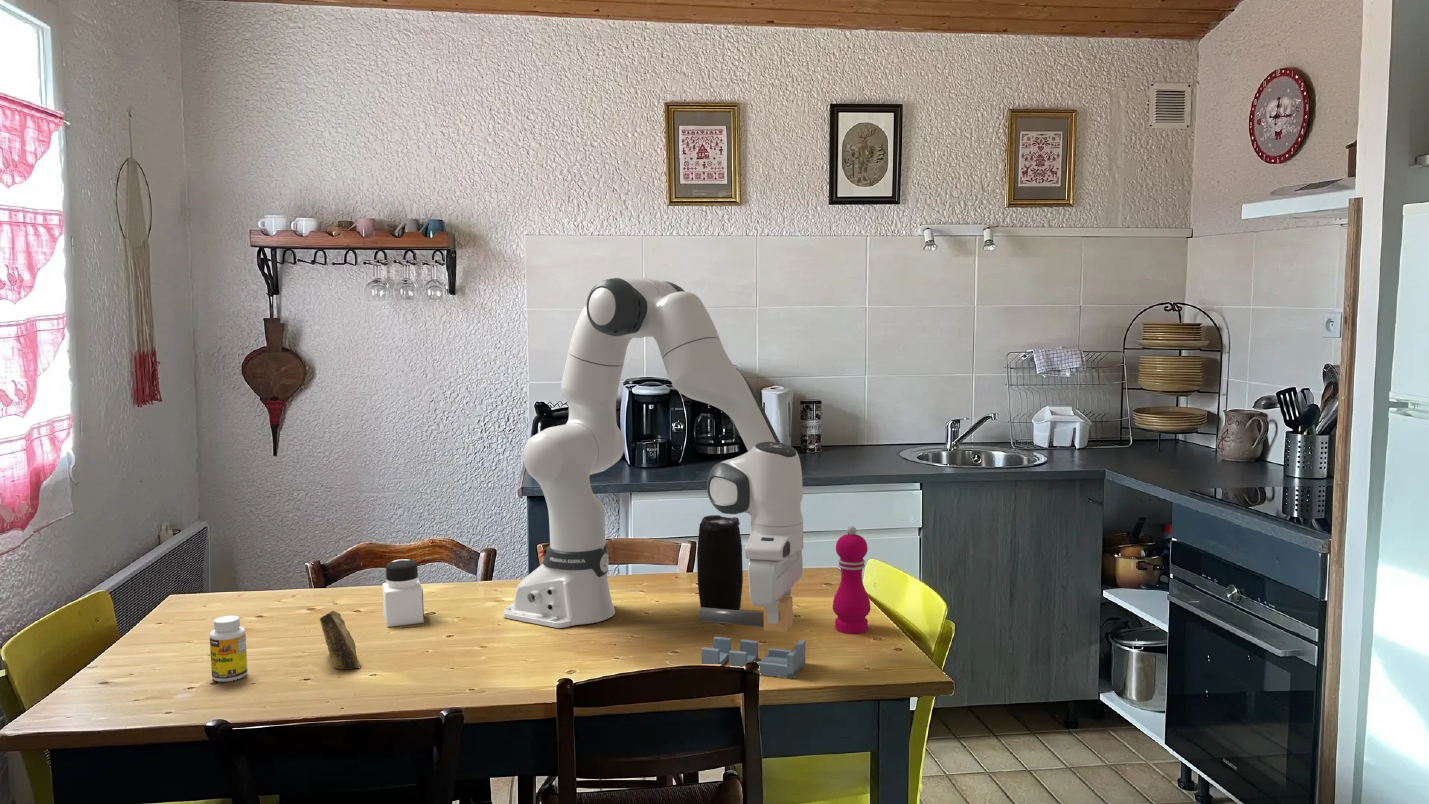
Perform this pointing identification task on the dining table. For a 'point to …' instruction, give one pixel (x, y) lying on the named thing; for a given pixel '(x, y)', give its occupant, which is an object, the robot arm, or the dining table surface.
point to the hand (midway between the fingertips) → (778, 617)
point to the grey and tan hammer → (752, 616)
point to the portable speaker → (719, 563)
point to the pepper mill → (851, 585)
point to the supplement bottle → (228, 649)
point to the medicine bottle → (402, 594)
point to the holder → (783, 661)
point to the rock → (339, 641)
